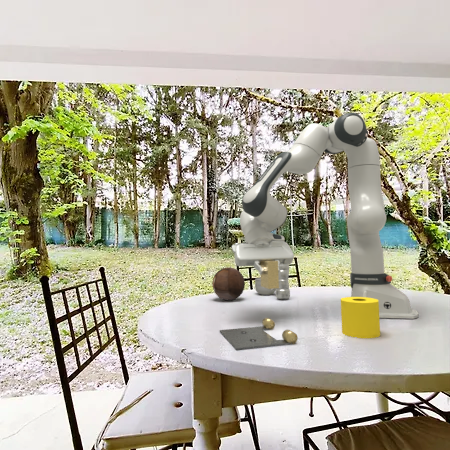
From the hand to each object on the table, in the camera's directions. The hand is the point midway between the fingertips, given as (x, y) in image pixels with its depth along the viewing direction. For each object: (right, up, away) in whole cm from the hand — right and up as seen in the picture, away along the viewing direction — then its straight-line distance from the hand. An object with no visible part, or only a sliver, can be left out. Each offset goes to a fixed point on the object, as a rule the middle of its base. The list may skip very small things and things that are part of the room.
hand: (269, 273), depth 108 cm
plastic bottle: (+12, -19, +44) cm, 50 cm away
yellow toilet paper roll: (+24, -15, -14) cm, 31 cm away
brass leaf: (0, -5, 0) cm, 5 cm away
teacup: (+7, -20, +59) cm, 63 cm away
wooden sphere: (-13, -19, +46) cm, 52 cm away
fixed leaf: (-6, -16, -15) cm, 23 cm away
